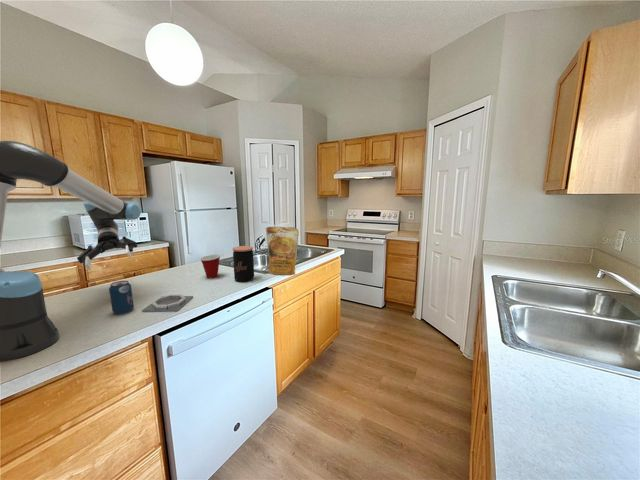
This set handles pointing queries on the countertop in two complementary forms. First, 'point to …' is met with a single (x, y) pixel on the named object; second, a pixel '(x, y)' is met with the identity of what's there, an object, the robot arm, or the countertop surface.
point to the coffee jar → (243, 263)
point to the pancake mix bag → (282, 249)
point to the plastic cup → (211, 265)
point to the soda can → (121, 297)
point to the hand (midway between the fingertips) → (109, 260)
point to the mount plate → (168, 303)
